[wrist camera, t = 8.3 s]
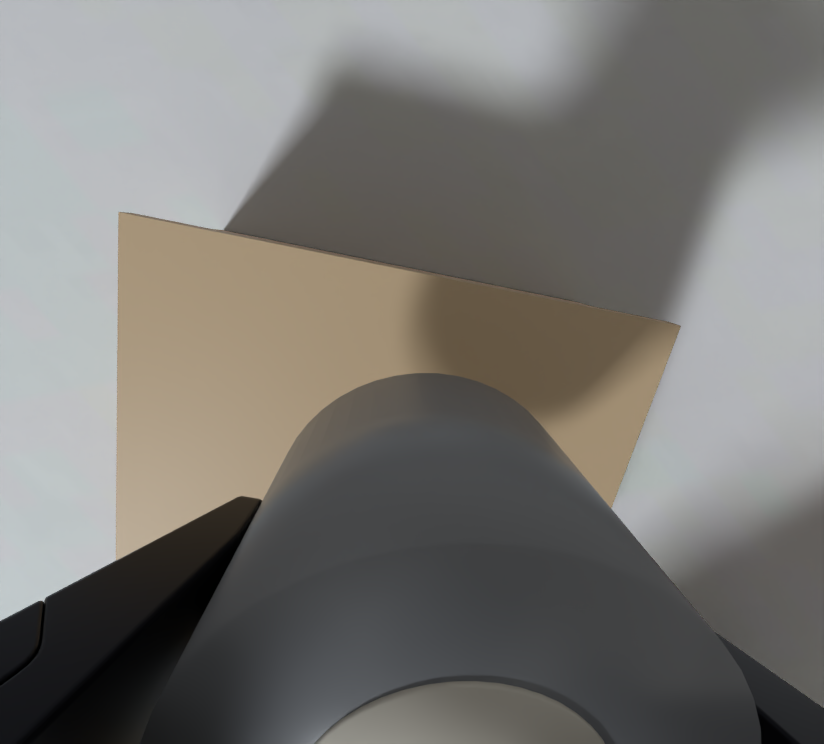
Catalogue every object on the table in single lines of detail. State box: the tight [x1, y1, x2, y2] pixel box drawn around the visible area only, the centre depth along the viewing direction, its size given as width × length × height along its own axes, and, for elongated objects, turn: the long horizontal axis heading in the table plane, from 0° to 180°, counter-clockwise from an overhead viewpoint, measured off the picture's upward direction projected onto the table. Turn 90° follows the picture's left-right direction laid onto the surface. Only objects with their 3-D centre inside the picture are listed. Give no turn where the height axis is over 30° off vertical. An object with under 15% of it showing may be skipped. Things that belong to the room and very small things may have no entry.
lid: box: [116, 212, 681, 560], centre depth 14 cm, size 15×14×1 cm
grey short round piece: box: [140, 373, 761, 744], centre depth 7 cm, size 6×6×5 cm
